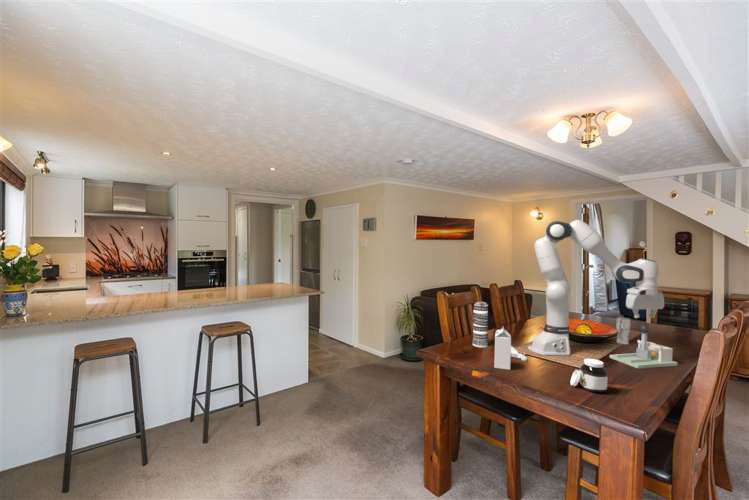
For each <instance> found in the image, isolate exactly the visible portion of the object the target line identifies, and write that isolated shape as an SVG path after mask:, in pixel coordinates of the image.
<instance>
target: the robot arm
mask: <svg viewBox="0 0 749 500" xmlns="http://www.w3.org/2000/svg"><path fill="white" fill-rule="evenodd" d="M544 230H545V231H544V236H543V237H540V238H538V239H537V240H536V241H535V242H534V244H533V245H534V253H535V256H536V261H537V263H538V267H539V270H540V273H541V274H542V276H543V279H544V282H545V283H546V287H545V300H546V301H545V304H546V321H545V322H546V323H545V324H542V323H541V324H540V325H539V328H540V329H543V330H542V331H541V332H539V333H538V334H537V335H535V336H534V337H533V338H532V342H531V344H530V345H528V346H527V349H528V350H529V351H530V352H532V353H535V354H537V355H542V356H570V355H571V353H572V350H571V346H570V336H569V334H570V325H569V323H570V321H569V320H570V319H569V317H570V308H569V307H570V306H569V305H570V303H569V301H570V300H569V296H570V294H571V286H570V283H569V280H568V278H567V276H566V273H565V271H564V268H563V265H562V263H561V259H560V257H559V253H558V250H557V246H556V245H557V243H559V242H561V241H563V240H564V239H567V238H568V239H570V240H572V241H573V242H575V243H576V245H578V246H579V247H580V248H581V249H583V250H584V251H586V252H587V253H589V254H590V255H593V256H595V257H597V258H598V259H599V260H601V261H602V262H603V263H604V264H605V266H607V267H608V268H609V269H610V270H611V273H612V275H613V277H614V278H615V279H616V280H617V281H618V282H619V281H620V282H621V283H625V284H630V283H635V286H632V287H629V288H627V290H626V293H627V295H626V298H625V307H626V309H629V310H632V313H633V315H634V316H633V318H635V319H640V316H641V315H640V313H639V310H651V312H650V313H649V315H648V316H649V318H652V319H653V318H655V317H656V313H657V312H658V310H663V309H664V308H665V297H664V294H663V292H662V290H658V288H659V287H658V286H659V284H658V280H659V275H660V274H659V264H658V262H657V261H656V260H653V259H648V258H643V257H642V258H639V259H637V260H635V261H632V262H629V263H628V262H624V261H622V260H620V259H619V258H618V257H616V255H615V254H613V253H612V251H610V250H609V248H608V247H607V245H606V242H605V239H604V238H603V237H602V235H600V233H599V232H598V231H597V230H596V229H594V228H593V227H592V226H590V225H589V224H588V223H586V222H584V221H583V220H581V219H575V220H573V221H571V222H570V223H568V222H564V221H559V220H555V221H552V222H550V223H548V224H547V226H546V228H545V229H544Z"/></svg>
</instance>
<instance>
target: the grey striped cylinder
mask: <svg viewBox="0 0 749 500" xmlns="http://www.w3.org/2000/svg"><path fill="white" fill-rule="evenodd" d="M488 306H489V304H487V302H485V301H476V302H475V303H474V304H473V310H472V322H473V323H472V325H473V329H472V330H473V331H472V346H474V347H476V348H487V347H488V344H489V343H488V342H489V339H488V338H489V337H488V336H489V334H488V327H489V319H490V315H488V314H489V310H488Z"/></svg>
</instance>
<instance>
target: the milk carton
mask: <svg viewBox="0 0 749 500" xmlns="http://www.w3.org/2000/svg"><path fill="white" fill-rule="evenodd" d="M511 346H512V336H511V334H510V333H509V332H508V331H507V330H506V329H505V328H504V327H502V328H501V329H497V330H495V333H494V363H493V364H494V365H493V368H494V369H500V370H509V371H510V370H511V357H512V356H511Z"/></svg>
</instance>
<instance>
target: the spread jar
mask: <svg viewBox="0 0 749 500" xmlns="http://www.w3.org/2000/svg"><path fill="white" fill-rule="evenodd" d="M578 383H580V385H581V387H582V388H583V390H585V391H587V392H590V393H596V394H601V393H603V392H605V391H607V389H608V373H607V371H606V369H605V367H604V362H603V361H602V360H600V359H595V358H585V359H583V364H582V365H580V368H579V369H574V371H573V372H572V375H571V378H570V386H573V387H576V386H578Z"/></svg>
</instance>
